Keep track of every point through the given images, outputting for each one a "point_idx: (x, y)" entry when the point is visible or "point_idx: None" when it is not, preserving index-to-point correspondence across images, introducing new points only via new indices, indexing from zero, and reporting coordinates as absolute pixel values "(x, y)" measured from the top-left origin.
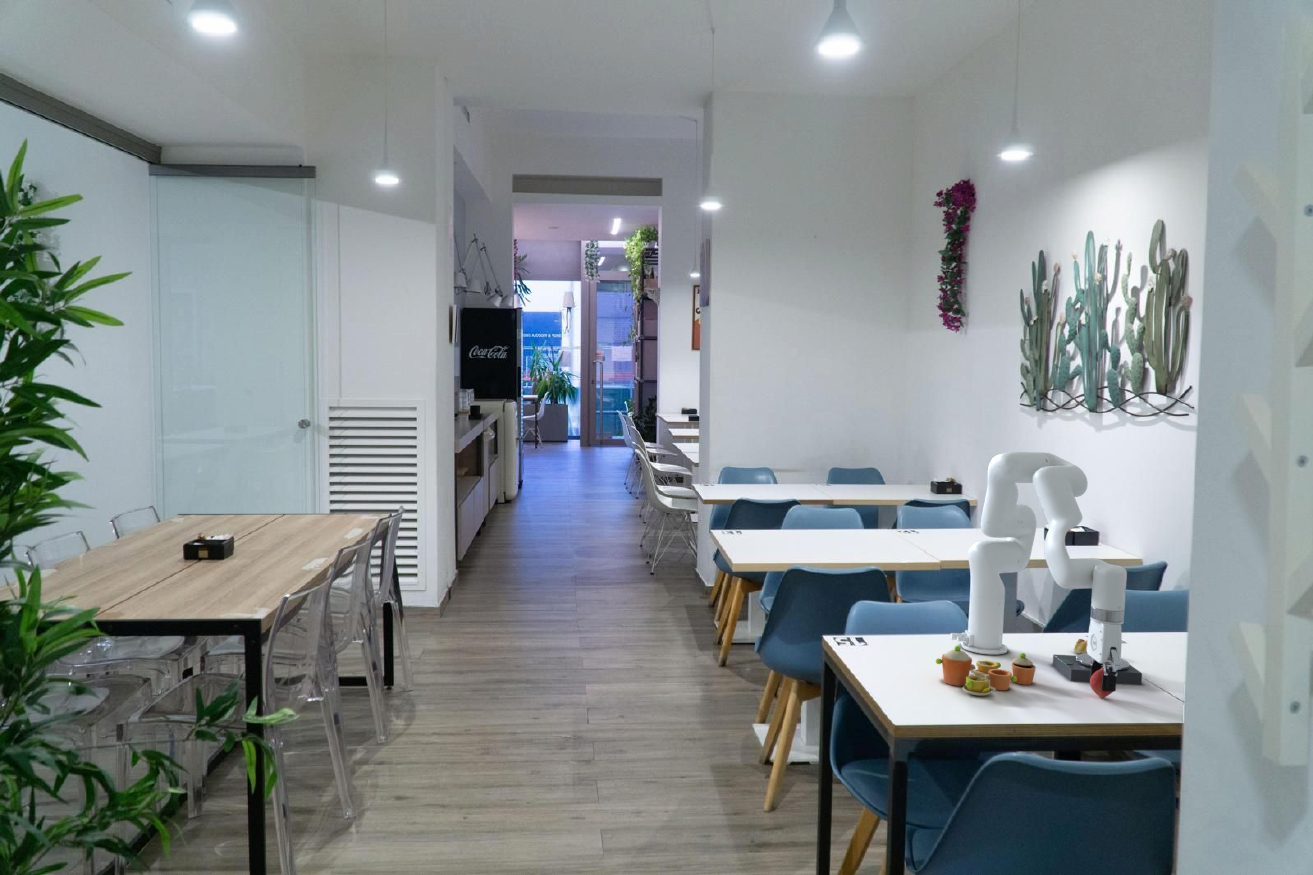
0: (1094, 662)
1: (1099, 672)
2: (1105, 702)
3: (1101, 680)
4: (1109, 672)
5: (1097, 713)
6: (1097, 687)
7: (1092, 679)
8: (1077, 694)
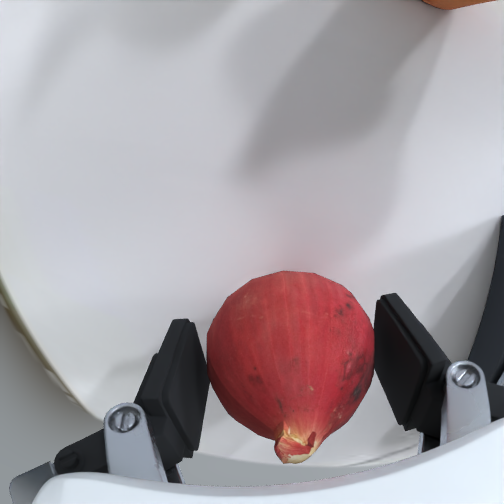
0: (442, 403)
1: (268, 395)
2: (212, 302)
3: (214, 360)
4: (86, 439)
5: (40, 224)
6: (223, 305)
7: (271, 305)
8: (319, 182)
